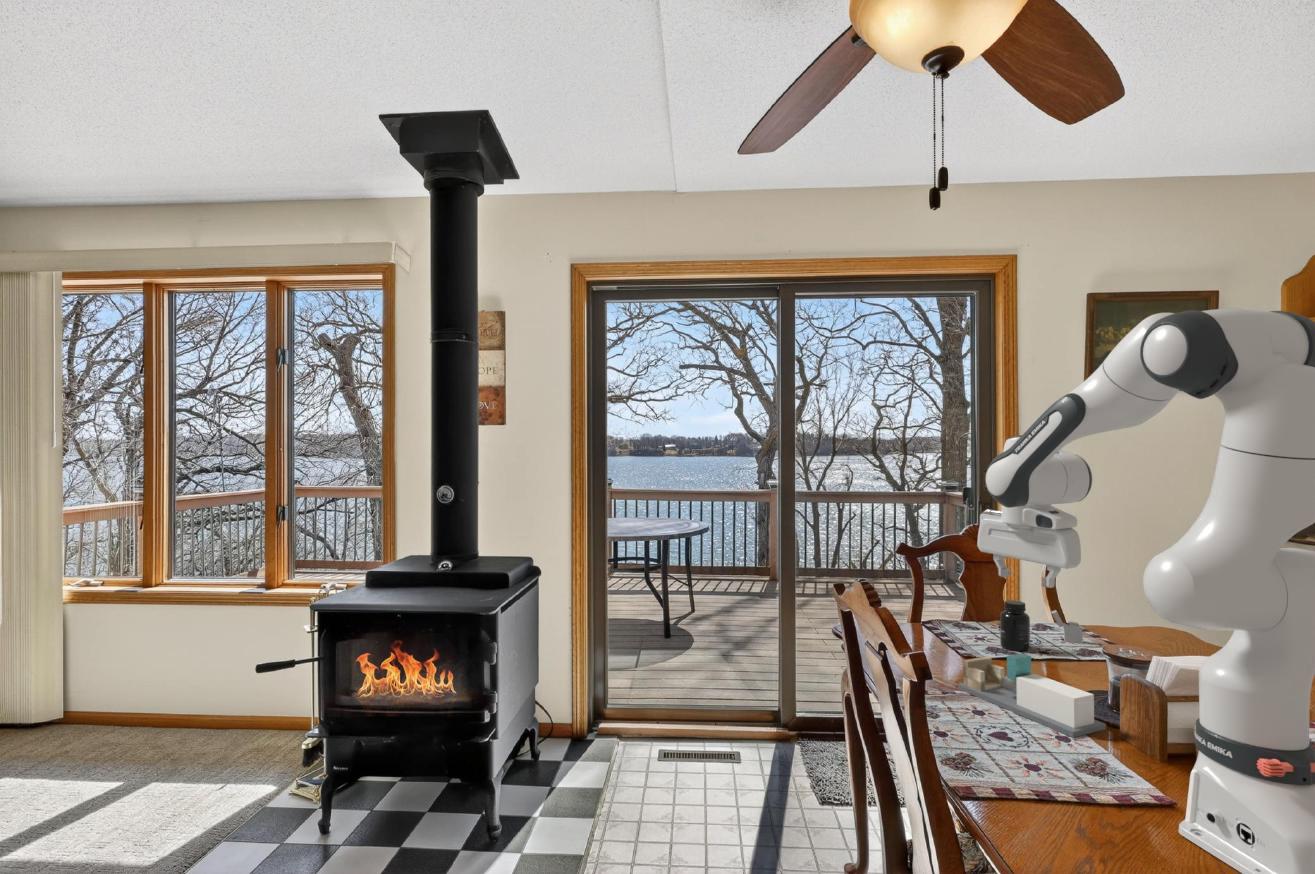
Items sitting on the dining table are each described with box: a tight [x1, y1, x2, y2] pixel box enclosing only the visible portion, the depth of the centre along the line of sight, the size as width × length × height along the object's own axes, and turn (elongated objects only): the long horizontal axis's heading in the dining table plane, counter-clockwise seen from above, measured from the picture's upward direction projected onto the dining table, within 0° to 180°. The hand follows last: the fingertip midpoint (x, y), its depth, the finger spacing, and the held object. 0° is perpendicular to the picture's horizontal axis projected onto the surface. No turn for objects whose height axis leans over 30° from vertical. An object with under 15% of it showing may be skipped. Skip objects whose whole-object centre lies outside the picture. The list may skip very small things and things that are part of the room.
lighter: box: [1050, 609, 1084, 644], centre depth 178 cm, size 7×2×8 cm, turn 63°
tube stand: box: [957, 673, 1107, 738], centre depth 133 cm, size 26×9×6 cm, turn 22°
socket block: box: [962, 656, 1006, 691], centre depth 143 cm, size 4×7×5 cm, turn 112°
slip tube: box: [1003, 652, 1032, 694], centre depth 130 cm, size 15×4×8 cm, turn 22°
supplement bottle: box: [999, 599, 1031, 653], centre depth 172 cm, size 7×7×12 cm
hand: (1025, 581), depth 134 cm, fingers open, 8 cm apart
